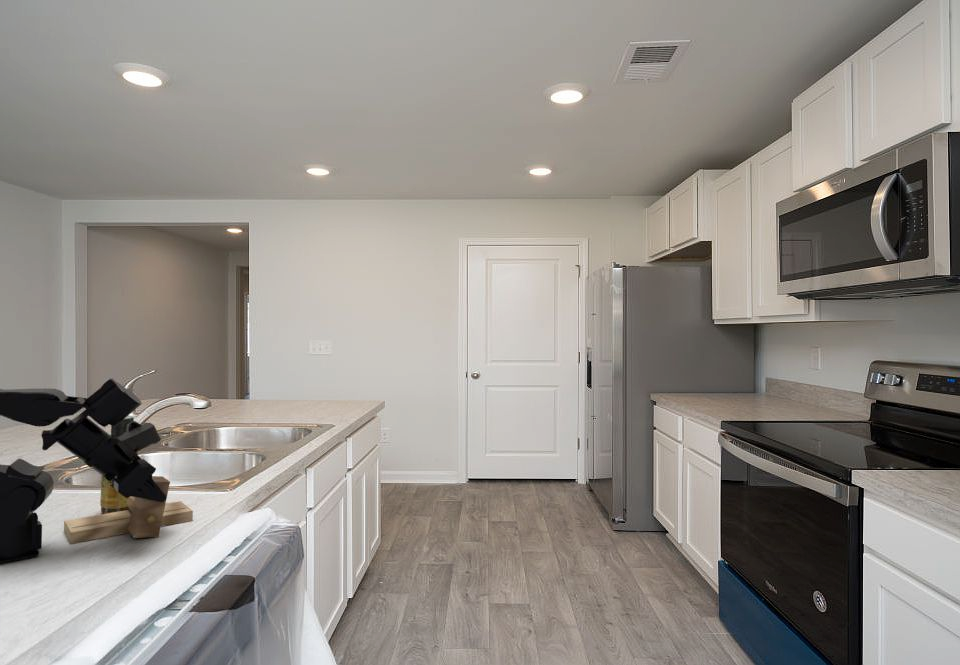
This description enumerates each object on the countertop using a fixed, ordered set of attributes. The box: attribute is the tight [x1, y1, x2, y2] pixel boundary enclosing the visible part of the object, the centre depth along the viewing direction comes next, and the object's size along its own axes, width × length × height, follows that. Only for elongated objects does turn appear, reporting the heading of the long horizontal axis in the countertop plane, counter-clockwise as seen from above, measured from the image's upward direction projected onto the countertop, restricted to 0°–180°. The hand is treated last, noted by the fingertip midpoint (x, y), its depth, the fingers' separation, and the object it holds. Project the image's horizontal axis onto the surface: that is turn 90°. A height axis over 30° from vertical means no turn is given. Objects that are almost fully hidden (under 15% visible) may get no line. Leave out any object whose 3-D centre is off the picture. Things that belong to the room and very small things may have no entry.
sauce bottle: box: [99, 414, 138, 514], centre depth 118 cm, size 7×6×20 cm
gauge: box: [126, 475, 171, 539], centre depth 109 cm, size 4×15×10 cm, turn 43°
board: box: [63, 500, 194, 545], centre depth 110 cm, size 20×8×2 cm, turn 133°
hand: (160, 496), depth 107 cm, fingers closed on gauge, 5 cm apart
